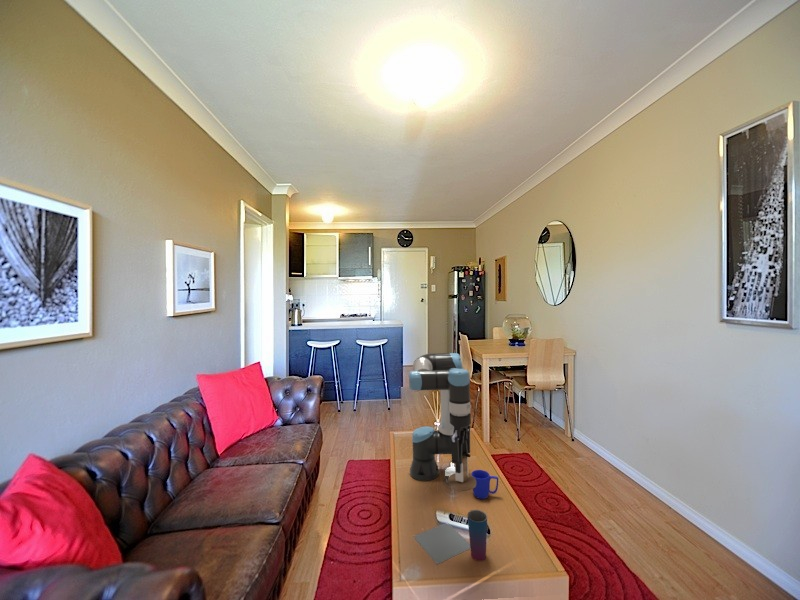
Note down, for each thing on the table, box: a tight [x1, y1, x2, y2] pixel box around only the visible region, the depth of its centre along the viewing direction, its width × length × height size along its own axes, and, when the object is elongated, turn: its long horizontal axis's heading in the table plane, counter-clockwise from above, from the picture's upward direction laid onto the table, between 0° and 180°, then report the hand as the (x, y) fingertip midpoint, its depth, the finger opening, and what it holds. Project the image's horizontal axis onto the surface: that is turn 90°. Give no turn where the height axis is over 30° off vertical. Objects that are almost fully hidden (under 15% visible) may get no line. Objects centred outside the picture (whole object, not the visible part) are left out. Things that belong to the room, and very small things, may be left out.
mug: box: [470, 469, 499, 500], centre depth 157 cm, size 8×12×10 cm
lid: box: [447, 455, 476, 492], centre depth 123 cm, size 10×10×9 cm
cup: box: [467, 509, 488, 562], centre depth 120 cm, size 7×7×15 cm
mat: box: [412, 523, 471, 565], centre depth 128 cm, size 16×16×1 cm
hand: (462, 477), depth 123 cm, fingers closed on lid, 4 cm apart
